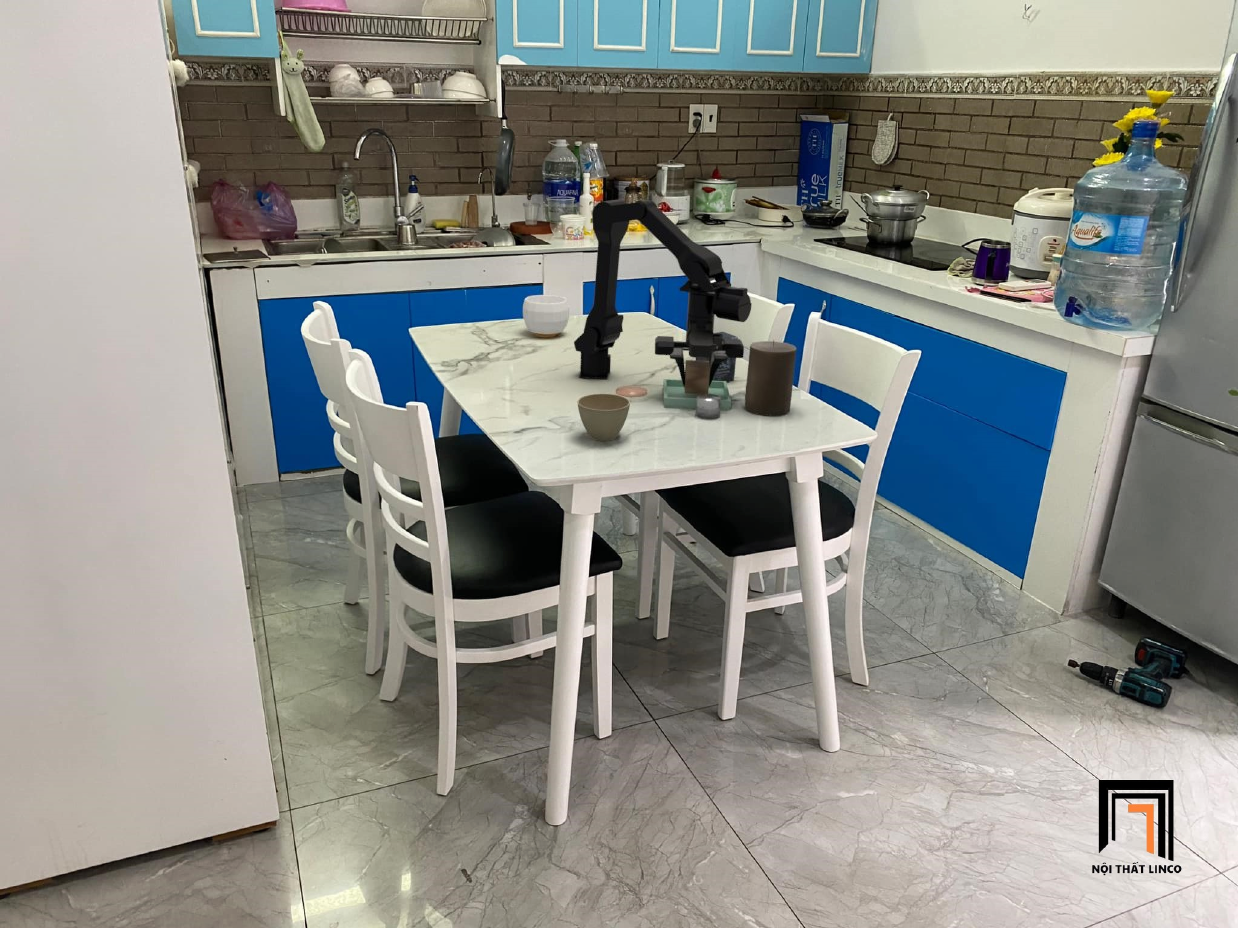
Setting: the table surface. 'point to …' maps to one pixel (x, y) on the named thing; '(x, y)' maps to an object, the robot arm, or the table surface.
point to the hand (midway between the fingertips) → (696, 385)
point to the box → (723, 363)
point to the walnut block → (697, 377)
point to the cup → (546, 314)
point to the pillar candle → (770, 378)
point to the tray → (680, 399)
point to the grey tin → (708, 406)
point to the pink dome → (631, 391)
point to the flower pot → (603, 414)
